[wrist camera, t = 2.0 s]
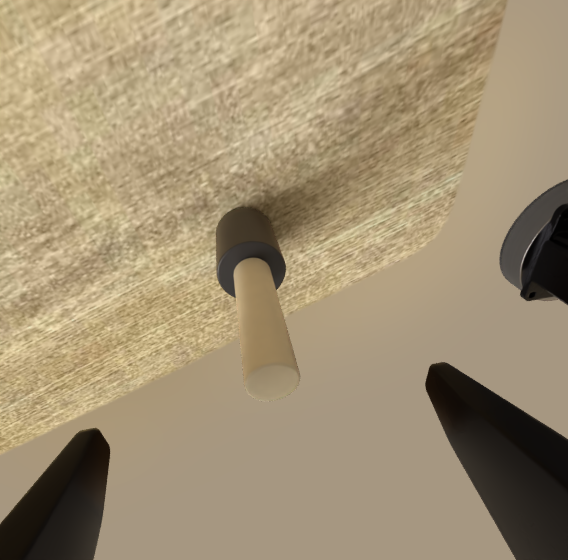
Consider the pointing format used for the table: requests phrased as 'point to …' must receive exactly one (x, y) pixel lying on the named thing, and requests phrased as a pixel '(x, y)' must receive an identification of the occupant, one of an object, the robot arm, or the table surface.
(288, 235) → the table surface
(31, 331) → the table surface
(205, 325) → the table surface
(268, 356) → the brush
